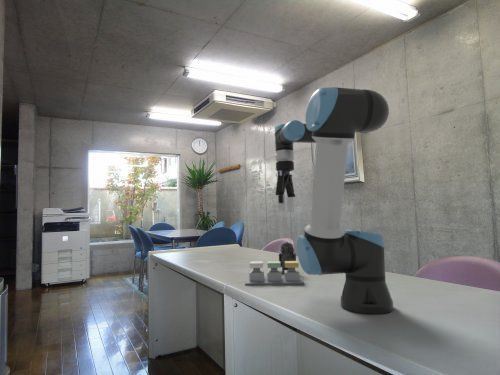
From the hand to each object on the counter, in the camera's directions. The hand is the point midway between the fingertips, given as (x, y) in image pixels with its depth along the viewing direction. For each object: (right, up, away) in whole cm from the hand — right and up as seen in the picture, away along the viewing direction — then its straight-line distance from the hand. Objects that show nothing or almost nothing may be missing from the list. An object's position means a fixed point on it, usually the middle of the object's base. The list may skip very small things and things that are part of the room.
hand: (286, 211), depth 133 cm
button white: (-12, -27, +5) cm, 30 cm away
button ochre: (+3, -27, +4) cm, 27 cm away
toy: (+3, -32, +22) cm, 38 cm away
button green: (-5, -27, +5) cm, 28 cm away
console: (-5, -30, +4) cm, 31 cm away
